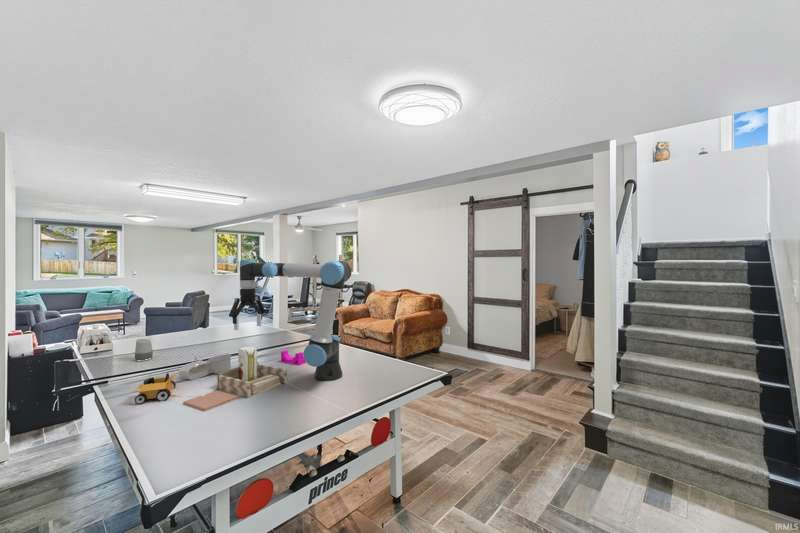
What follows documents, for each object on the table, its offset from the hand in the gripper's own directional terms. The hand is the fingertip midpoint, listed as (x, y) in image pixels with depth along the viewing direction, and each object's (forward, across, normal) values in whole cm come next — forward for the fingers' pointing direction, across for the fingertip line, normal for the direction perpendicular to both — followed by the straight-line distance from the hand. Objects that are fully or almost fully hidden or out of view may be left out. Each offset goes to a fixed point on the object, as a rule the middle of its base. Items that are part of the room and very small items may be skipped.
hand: (248, 328), depth 183 cm
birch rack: (+28, +4, +9) cm, 30 cm away
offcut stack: (+29, +4, +16) cm, 33 cm away
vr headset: (+28, +12, -28) cm, 41 cm away
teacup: (+28, 0, -22) cm, 35 cm away
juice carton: (+28, +4, +5) cm, 29 cm away
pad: (+28, +26, +10) cm, 40 cm away
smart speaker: (+28, +9, -96) cm, 100 cm away
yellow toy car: (+28, +36, -17) cm, 49 cm away
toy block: (+29, -36, -5) cm, 46 cm away
